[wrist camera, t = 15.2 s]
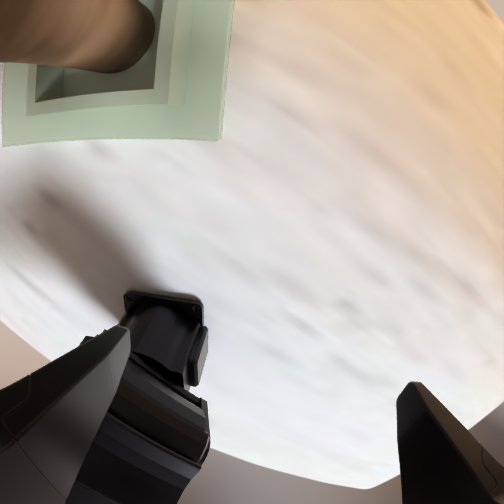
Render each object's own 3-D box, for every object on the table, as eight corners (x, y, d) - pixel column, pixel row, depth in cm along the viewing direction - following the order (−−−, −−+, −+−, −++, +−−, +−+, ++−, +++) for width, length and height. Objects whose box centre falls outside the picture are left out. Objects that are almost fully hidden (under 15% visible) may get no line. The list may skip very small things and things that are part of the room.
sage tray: (12, 144, 19) (-24, 155, 15) (26, -9, 13) (-7, -17, 9) (221, 139, 19) (206, 146, 15) (241, -55, 13) (232, -86, 9)
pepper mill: (80, 79, 16) (-92, 83, 4) (87, 10, 14) (-64, -34, 2) (152, 68, 16) (-23, 29, 4) (158, -6, 14) (23, -104, 2)
